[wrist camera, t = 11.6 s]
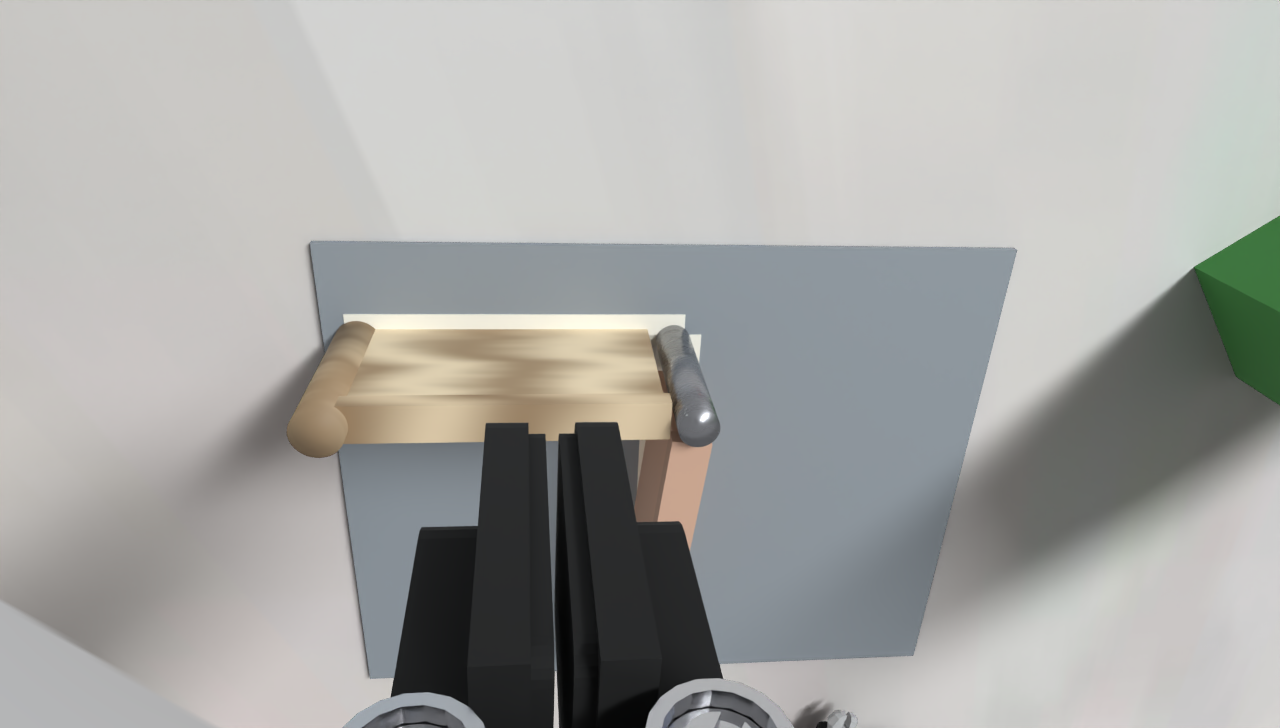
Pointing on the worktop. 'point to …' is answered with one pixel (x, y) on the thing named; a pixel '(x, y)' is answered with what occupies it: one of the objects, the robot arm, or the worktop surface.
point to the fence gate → (671, 479)
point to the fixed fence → (499, 386)
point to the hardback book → (1248, 305)
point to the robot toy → (839, 720)
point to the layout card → (745, 405)
